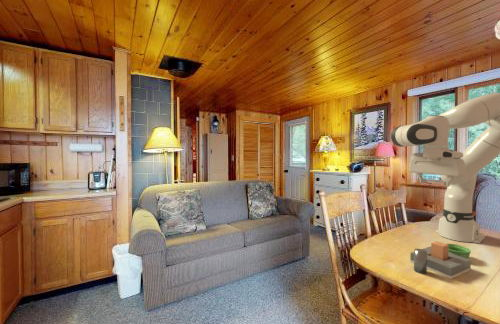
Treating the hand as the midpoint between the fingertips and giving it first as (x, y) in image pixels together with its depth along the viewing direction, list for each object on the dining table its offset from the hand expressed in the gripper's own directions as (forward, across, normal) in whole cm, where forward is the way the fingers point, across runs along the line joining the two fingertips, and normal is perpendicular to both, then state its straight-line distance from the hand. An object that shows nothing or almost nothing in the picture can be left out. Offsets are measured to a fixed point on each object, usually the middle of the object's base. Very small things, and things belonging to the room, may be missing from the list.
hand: (434, 184), depth 103 cm
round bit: (+31, +7, -21) cm, 38 cm away
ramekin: (+31, +7, +5) cm, 32 cm away
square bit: (+30, +8, -10) cm, 33 cm away
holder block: (+31, +8, -10) cm, 34 cm away
